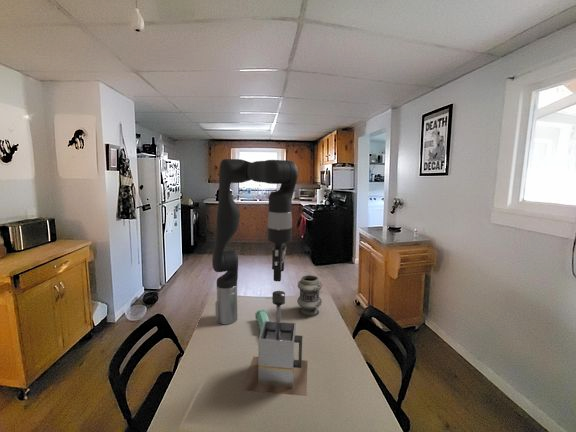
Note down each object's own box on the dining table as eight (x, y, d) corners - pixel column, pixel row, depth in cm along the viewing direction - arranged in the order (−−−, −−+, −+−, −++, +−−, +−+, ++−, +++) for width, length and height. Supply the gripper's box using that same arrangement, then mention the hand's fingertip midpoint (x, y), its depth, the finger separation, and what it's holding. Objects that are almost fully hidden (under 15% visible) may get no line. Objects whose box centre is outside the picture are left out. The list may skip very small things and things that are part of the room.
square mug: (258, 385, 88) (258, 340, 86) (264, 361, 99) (264, 320, 97) (300, 389, 87) (301, 343, 84) (301, 364, 98) (303, 323, 96)
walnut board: (242, 393, 87) (242, 390, 86) (253, 359, 102) (253, 356, 102) (306, 399, 85) (306, 395, 85) (307, 363, 101) (307, 360, 100)
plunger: (263, 348, 88) (263, 298, 85) (267, 333, 96) (267, 287, 93) (289, 350, 87) (290, 300, 84) (291, 334, 95) (292, 288, 93)
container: (276, 338, 105) (264, 306, 129) (262, 346, 104) (253, 312, 128) (282, 350, 107) (269, 317, 131) (268, 358, 106) (257, 322, 130)
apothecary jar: (298, 305, 145) (299, 272, 142) (321, 307, 143) (322, 274, 140) (295, 317, 133) (296, 281, 130) (320, 319, 131) (322, 283, 128)
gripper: (271, 221, 93) (270, 267, 95) (263, 230, 79) (263, 284, 81) (293, 222, 92) (292, 268, 95) (290, 231, 78) (288, 285, 81)
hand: (278, 275), depth 88 cm, fingers open, 8 cm apart
